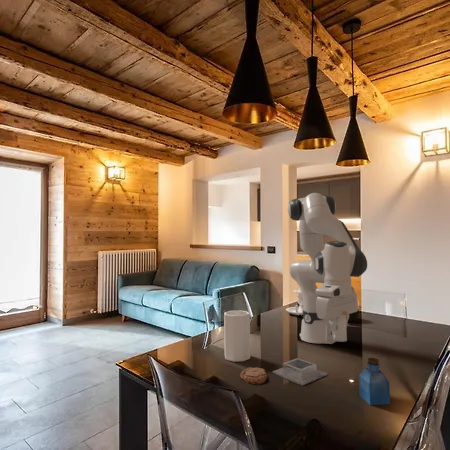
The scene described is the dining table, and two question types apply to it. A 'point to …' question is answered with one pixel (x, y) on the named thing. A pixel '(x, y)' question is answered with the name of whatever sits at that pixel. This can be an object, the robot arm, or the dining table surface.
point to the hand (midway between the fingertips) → (339, 328)
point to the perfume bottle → (374, 384)
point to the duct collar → (299, 371)
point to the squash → (353, 316)
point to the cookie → (254, 375)
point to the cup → (237, 335)
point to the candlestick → (297, 309)
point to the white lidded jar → (340, 328)
